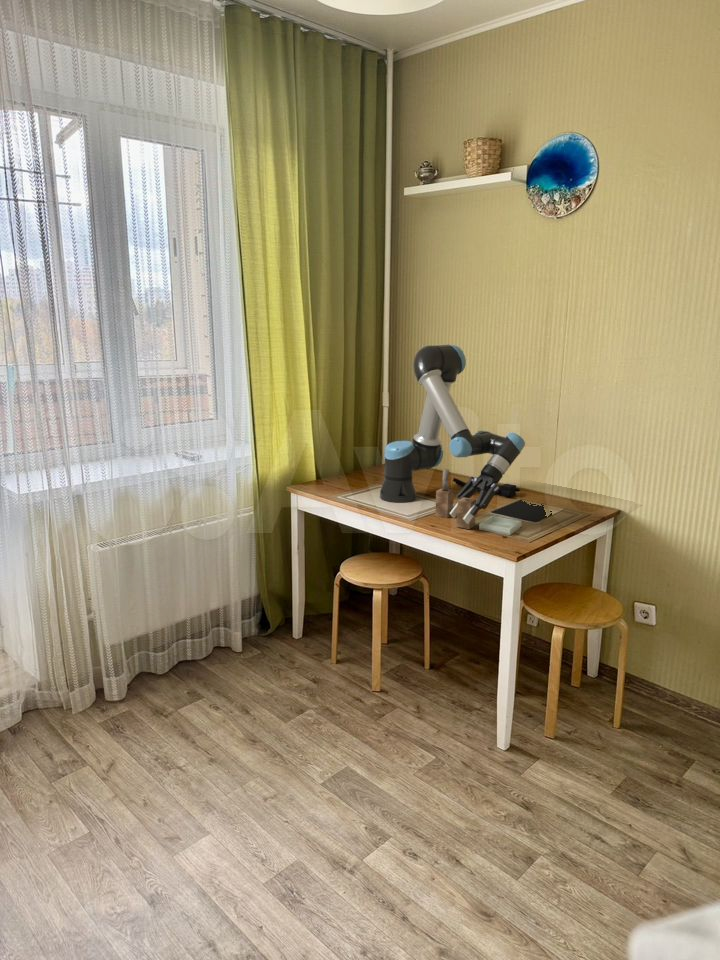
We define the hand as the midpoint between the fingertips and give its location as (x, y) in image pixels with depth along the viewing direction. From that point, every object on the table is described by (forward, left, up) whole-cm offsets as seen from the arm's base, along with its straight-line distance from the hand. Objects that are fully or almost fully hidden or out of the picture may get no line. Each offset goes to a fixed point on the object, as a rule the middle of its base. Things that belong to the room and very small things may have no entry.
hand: (458, 518), depth 251 cm
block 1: (-11, +12, -4) cm, 17 cm away
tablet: (+14, +37, -5) cm, 40 cm away
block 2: (+1, +3, -4) cm, 5 cm away
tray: (+13, +9, -4) cm, 16 cm away
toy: (-13, +56, -4) cm, 58 cm away
